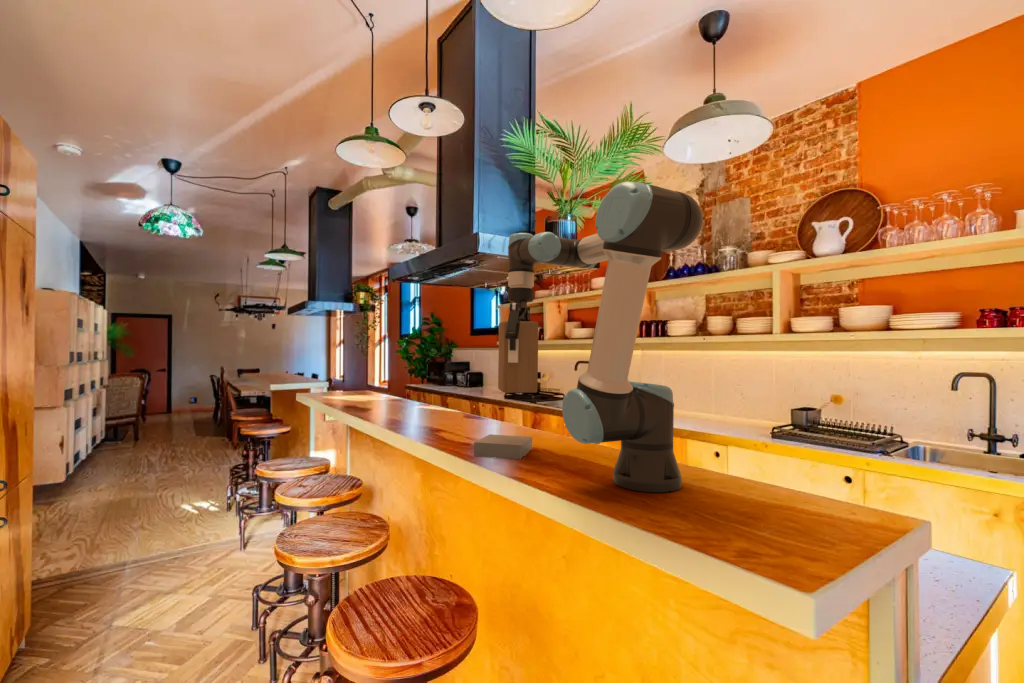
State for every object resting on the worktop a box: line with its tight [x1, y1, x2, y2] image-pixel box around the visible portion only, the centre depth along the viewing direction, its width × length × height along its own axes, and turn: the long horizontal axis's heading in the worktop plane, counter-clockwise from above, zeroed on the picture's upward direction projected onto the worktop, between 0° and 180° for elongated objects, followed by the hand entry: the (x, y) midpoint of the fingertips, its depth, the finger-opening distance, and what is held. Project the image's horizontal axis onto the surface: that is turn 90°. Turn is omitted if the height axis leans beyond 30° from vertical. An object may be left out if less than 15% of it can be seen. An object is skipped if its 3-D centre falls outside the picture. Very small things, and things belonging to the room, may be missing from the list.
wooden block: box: [497, 320, 539, 394], centre depth 135 cm, size 10×10×20 cm
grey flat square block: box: [473, 434, 533, 460], centre depth 140 cm, size 14×14×4 cm
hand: (519, 361), depth 135 cm, fingers closed on wooden block, 12 cm apart
